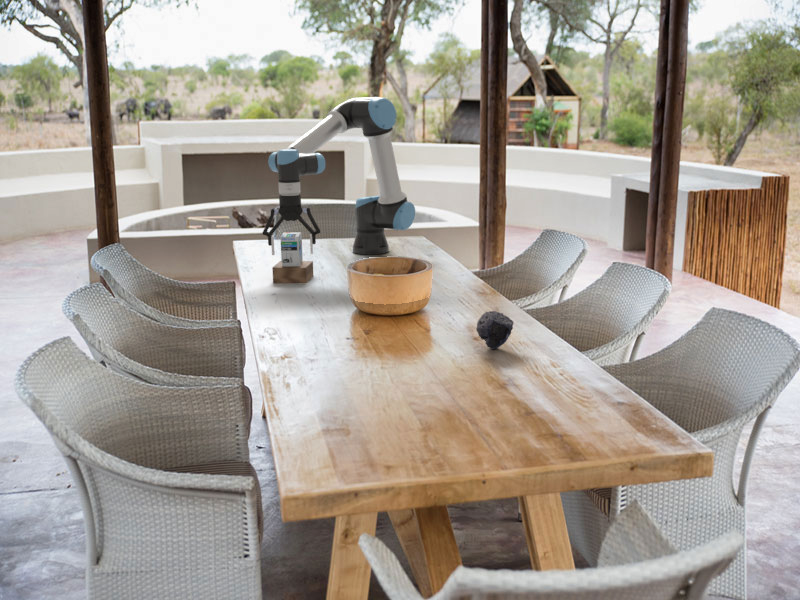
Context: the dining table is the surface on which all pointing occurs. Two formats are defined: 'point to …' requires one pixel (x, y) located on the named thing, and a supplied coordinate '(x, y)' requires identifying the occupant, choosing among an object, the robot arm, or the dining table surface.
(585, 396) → the dining table surface
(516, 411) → the dining table surface
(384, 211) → the robot arm
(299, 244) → the light bulb box
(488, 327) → the pumice stone
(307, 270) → the walnut block
